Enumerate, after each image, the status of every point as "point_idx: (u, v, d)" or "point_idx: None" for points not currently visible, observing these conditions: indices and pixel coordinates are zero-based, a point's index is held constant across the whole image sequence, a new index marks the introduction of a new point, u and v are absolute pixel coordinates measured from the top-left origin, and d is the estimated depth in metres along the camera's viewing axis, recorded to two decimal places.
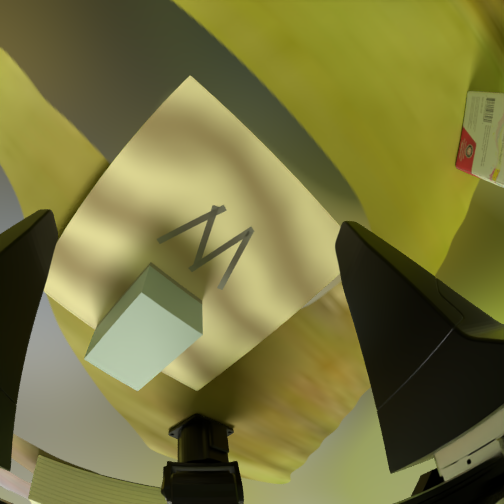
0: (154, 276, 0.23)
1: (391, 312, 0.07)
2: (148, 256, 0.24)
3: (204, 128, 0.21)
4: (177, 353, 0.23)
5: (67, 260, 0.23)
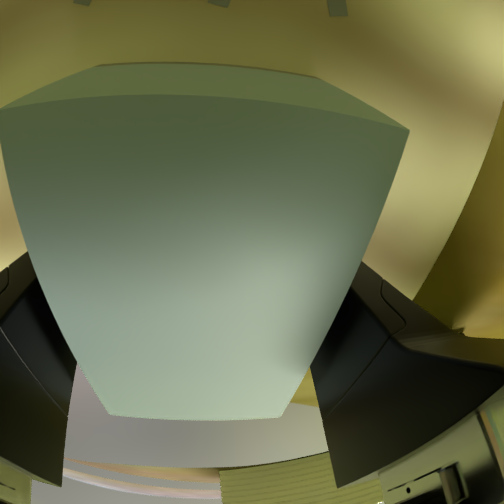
0: (103, 70, 0.05)
1: None
2: (84, 56, 0.06)
3: None
4: (341, 283, 0.05)
5: None
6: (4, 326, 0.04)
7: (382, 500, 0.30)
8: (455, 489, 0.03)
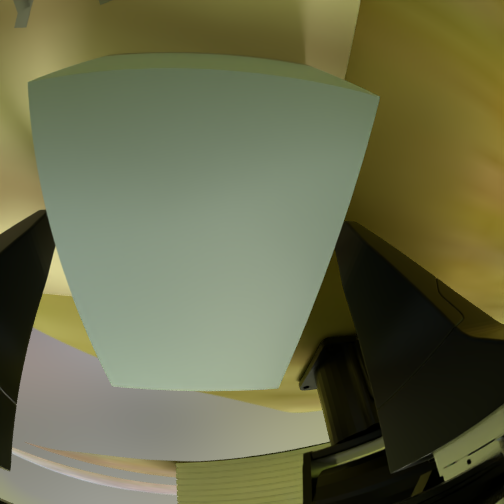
0: (115, 57, 0.06)
1: (391, 312, 0.07)
2: None
3: None
4: (328, 238, 0.06)
5: None
6: None
7: None
8: None
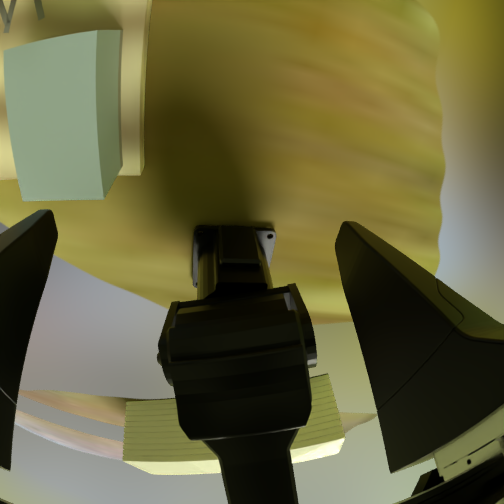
0: None
1: (391, 312, 0.07)
2: None
3: None
4: (91, 86, 0.12)
5: None
6: None
7: None
8: None
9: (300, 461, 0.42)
